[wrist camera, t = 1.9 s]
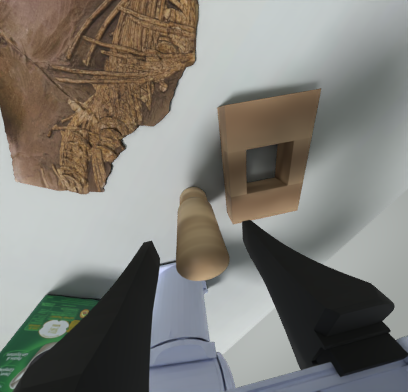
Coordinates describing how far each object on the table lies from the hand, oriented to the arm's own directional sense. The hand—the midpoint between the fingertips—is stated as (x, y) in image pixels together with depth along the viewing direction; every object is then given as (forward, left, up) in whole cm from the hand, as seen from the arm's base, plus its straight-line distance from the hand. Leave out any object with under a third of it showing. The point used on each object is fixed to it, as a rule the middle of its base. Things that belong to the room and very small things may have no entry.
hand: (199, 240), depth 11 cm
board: (+3, -8, -7) cm, 11 cm away
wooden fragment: (+13, +5, -7) cm, 16 cm away
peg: (0, 0, -7) cm, 7 cm away
